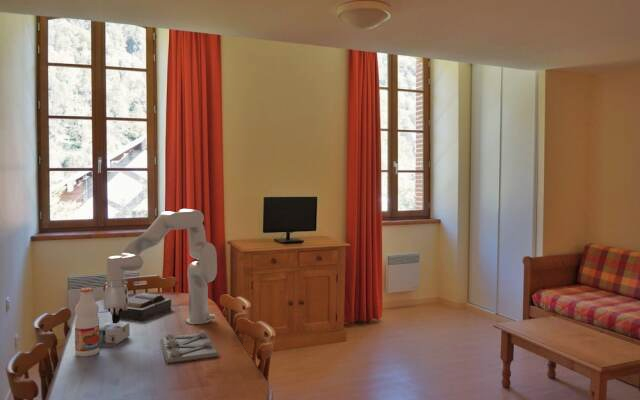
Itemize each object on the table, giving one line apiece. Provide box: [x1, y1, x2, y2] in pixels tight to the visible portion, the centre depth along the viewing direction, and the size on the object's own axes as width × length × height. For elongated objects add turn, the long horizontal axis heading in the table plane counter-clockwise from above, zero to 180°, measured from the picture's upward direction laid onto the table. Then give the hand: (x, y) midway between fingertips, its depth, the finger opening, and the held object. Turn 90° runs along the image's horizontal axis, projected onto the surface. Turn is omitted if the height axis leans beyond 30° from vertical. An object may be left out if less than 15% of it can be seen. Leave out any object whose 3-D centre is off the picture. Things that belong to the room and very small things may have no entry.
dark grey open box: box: [116, 292, 172, 322], centre depth 267 cm, size 23×27×10 cm
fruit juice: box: [74, 286, 100, 358], centre depth 207 cm, size 9×9×28 cm
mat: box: [99, 342, 121, 348], centre depth 223 cm, size 14×16×1 cm
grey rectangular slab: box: [160, 329, 220, 365], centre depth 213 cm, size 30×22×7 cm
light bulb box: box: [99, 321, 130, 345], centre depth 223 cm, size 11×7×11 cm
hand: (116, 322), depth 222 cm, fingers closed
